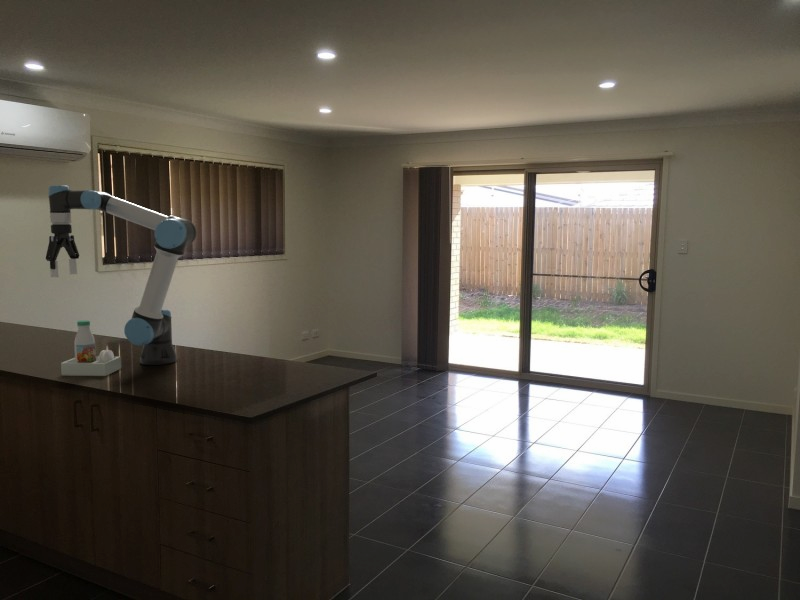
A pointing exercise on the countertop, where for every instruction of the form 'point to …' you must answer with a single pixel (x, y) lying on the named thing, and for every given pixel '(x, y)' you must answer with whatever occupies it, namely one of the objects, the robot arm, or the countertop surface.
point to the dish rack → (93, 365)
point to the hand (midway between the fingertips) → (64, 275)
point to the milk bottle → (84, 343)
